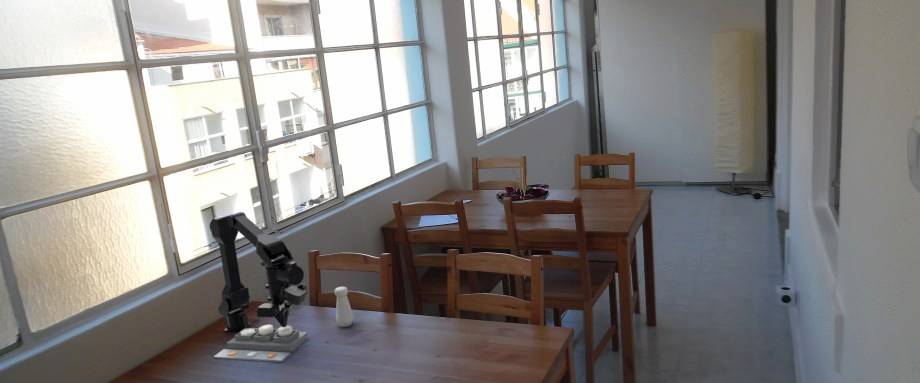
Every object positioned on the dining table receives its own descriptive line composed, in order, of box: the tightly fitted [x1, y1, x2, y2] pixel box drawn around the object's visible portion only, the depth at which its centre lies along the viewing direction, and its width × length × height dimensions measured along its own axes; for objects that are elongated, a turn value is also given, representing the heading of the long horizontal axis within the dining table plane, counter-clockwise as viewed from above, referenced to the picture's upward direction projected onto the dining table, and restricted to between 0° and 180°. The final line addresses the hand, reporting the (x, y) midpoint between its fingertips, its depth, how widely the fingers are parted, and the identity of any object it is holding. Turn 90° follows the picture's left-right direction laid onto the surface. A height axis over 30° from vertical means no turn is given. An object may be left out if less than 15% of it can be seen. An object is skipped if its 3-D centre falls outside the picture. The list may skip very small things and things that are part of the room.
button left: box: [241, 329, 255, 336], centre depth 222 cm, size 4×4×2 cm
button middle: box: [258, 324, 274, 336], centre depth 219 cm, size 4×4×2 cm
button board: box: [226, 327, 309, 353], centre depth 220 cm, size 23×10×4 cm, turn 73°
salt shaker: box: [334, 286, 355, 328], centre depth 228 cm, size 6×6×13 cm
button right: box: [277, 325, 294, 337], centre depth 217 cm, size 4×4×2 cm
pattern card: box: [213, 348, 292, 363], centre depth 212 cm, size 24×5×1 cm, turn 73°
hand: (284, 326), depth 217 cm, fingers closed
